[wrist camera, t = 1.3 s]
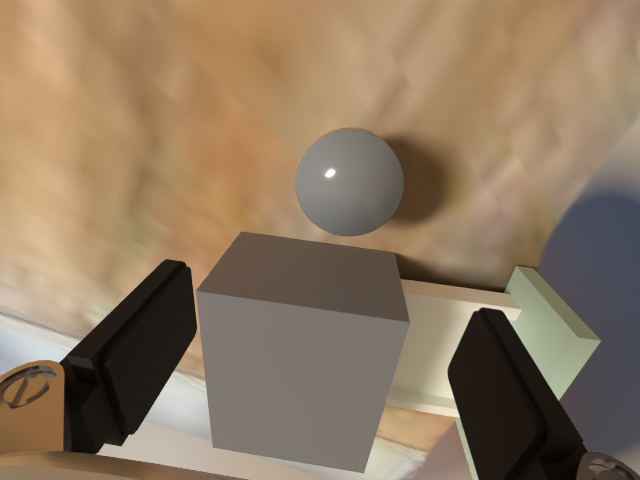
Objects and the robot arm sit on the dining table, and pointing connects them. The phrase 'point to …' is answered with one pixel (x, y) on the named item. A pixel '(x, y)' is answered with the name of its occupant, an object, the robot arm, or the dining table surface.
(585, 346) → the green drawer
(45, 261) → the dining table surface
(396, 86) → the dining table surface
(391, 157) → the grey round dome
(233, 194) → the dining table surface
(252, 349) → the grey drawer cabinet
